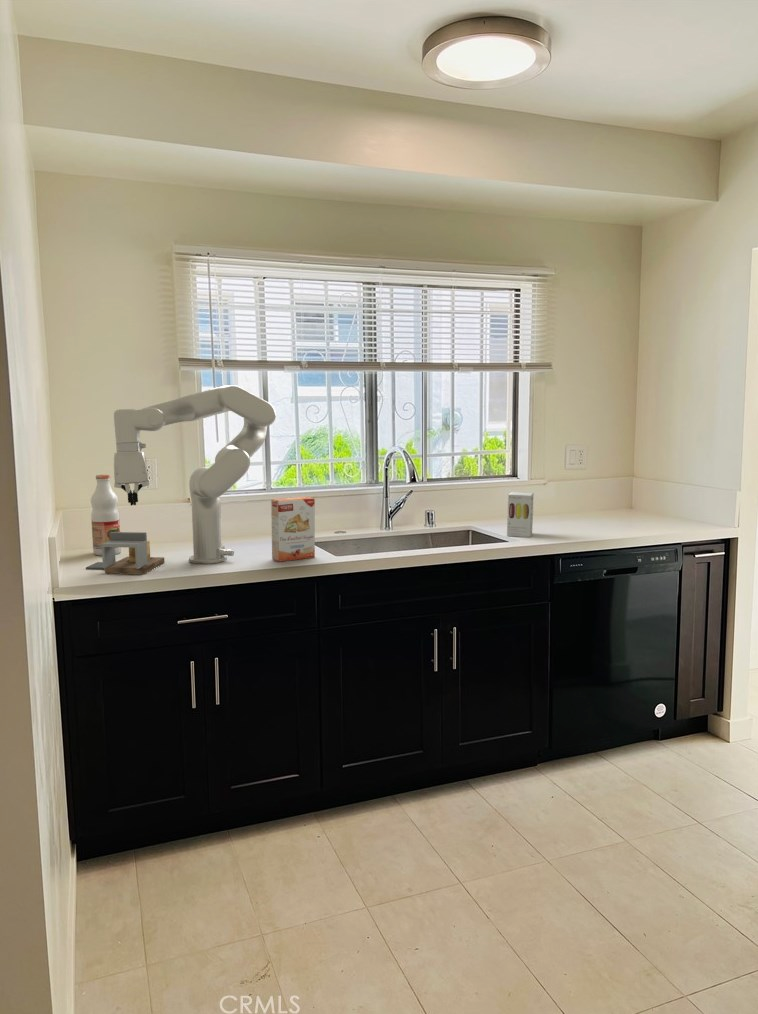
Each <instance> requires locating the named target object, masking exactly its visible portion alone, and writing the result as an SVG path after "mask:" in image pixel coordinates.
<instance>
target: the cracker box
mask: <svg viewBox="0 0 758 1014" xmlns="http://www.w3.org/2000/svg"><path fill="white" fill-rule="evenodd" d="M315 501H316V500H315V498H314V497H309V496H299V497H287V498H286V497H285V498H284V497H283V498H275V499H271V501H270V503H271V507H270V508H271V512H270V513H271V559H272V560H275V561H277V562H279V563H280V562H287V561H288V562H289V561H295V560H305V559H312V558H315V557H316V556H315V553H316V551H315V549H316V548H315V546H316V544H315V542H316V541H315V540H316V539H315V538H316V537H315V536H316V535H315V534H316V532H315V530H316V528H315V527H316V526H315V519H316V518H315V516H316V515H315V512H316V511H315Z"/></svg>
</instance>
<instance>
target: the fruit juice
mask: <svg viewBox="0 0 758 1014" xmlns="http://www.w3.org/2000/svg"><path fill="white" fill-rule="evenodd" d="M111 479H112V477H111V475H110V474H98V475H96V476H95V480H96V485H95V486H96V488H95V490H94V492H93V494H92V495H91V497H90V504H91V507H92V511H91V515H90V517H91V518H90V521H91V533H92V535H91V536H92V537H91V538H92V551H93V554H94V555H96V556H102V543H105V542H107V541H110V535H109V533H110V532H121V525H120V524H121V523H120V513H119V510H118V503H119V497H118V495H117V494H116V493H115V492H114V489H113V488H112V485H111ZM121 551H122V547H115V555H117V554H120V553H121Z"/></svg>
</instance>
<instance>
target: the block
mask: <svg viewBox="0 0 758 1014" xmlns="http://www.w3.org/2000/svg"><path fill="white" fill-rule="evenodd" d="M147 556H148V561H149V560H150V557H151V543H150V540H147ZM128 557H129V562H136V558H135V548H131V547H128Z"/></svg>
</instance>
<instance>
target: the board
mask: <svg viewBox="0 0 758 1014" xmlns="http://www.w3.org/2000/svg"><path fill="white" fill-rule="evenodd" d="M165 562H166V561H165V557H164V556H163V557H161V556H158V557H157V556H150V560H149V561H148V564H147V565H145V566H143V567H141V568H139V569H136V562H129V556H125V557H123V558H121V559H120V560H117V561H116V563H115V564H113V565H111V566H109V567H107V568H105V570H104V574H113V573H121V574H123V575H124V574H125V575H146V574H148V573H149V572H152V571H153V570H155V569H157V568H159V567H161V566H162V565H164V564H165ZM158 566H159V567H158ZM156 567H157V568H156ZM154 568H155V569H154ZM152 569H153V570H152ZM147 572H148V573H147Z"/></svg>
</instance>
